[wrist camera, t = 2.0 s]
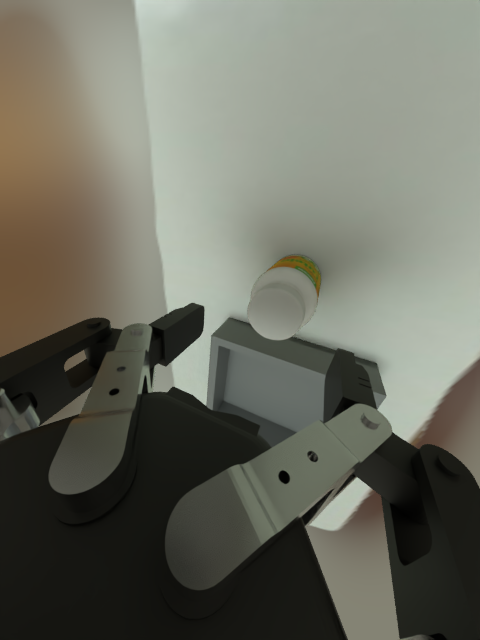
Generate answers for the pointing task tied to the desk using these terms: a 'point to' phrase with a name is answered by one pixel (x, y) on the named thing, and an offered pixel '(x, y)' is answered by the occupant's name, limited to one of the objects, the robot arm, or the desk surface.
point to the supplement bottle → (284, 297)
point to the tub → (272, 379)
